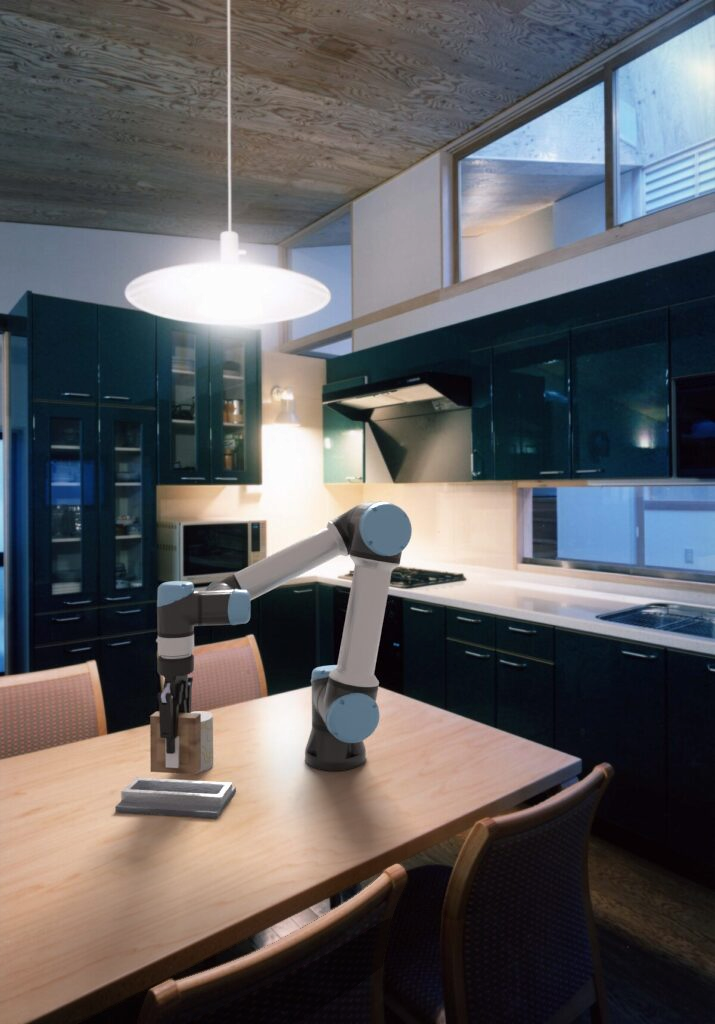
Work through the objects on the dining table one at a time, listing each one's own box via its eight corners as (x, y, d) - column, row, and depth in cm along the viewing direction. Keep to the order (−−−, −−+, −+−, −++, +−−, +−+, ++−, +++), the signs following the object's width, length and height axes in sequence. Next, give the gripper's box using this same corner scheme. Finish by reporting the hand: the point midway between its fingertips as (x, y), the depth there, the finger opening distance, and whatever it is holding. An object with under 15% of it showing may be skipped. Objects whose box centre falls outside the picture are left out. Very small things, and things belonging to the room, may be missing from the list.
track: (235, 791, 145) (235, 777, 145) (217, 818, 133) (217, 803, 133) (141, 786, 147) (141, 772, 147) (115, 812, 136) (115, 797, 136)
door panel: (200, 768, 141) (200, 713, 140) (195, 774, 138) (195, 718, 137) (156, 765, 142) (156, 711, 142) (150, 771, 139) (150, 716, 139)
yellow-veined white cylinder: (204, 773, 154) (204, 723, 154) (173, 771, 156) (172, 721, 155) (218, 760, 162) (218, 712, 162) (188, 757, 164) (187, 710, 163)
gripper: (174, 645, 148) (174, 747, 148) (141, 663, 132) (142, 778, 132) (206, 646, 147) (206, 749, 147) (177, 664, 131) (177, 780, 131)
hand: (176, 762), depth 140 cm, fingers closed on door panel, 3 cm apart
